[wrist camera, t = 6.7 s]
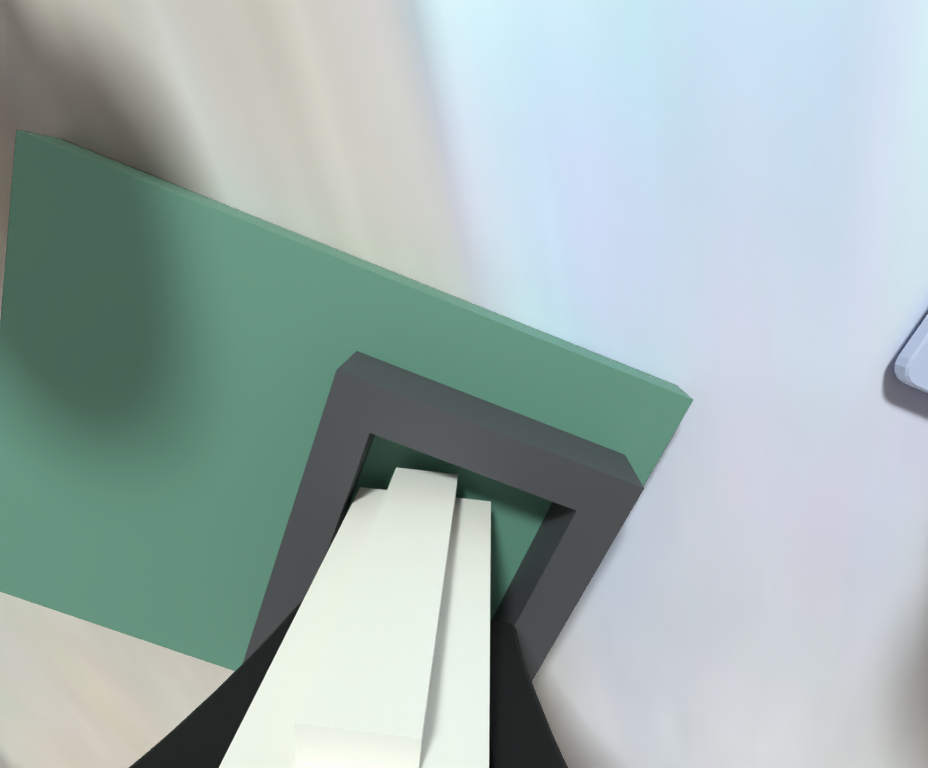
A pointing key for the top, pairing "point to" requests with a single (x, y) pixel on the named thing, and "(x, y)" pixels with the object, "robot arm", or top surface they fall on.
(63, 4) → the top surface
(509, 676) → the robot arm
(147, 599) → the circuit board
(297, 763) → the plug
